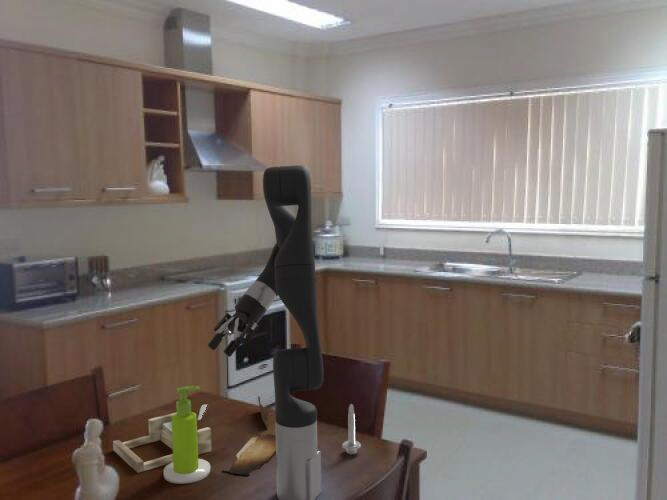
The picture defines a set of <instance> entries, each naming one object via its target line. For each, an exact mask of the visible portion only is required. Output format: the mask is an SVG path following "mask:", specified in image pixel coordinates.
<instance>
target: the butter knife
mask: <svg viewBox="0 0 667 500" xmlns="http://www.w3.org/2000/svg"><path fill="white" fill-rule="evenodd" d="M207 405H208V403H207V404H202V405H201V407H200V409H199V412H198V413H199V414H198V415H197V421H201V420H202V417H203V416H204V414H205V413H206V411H207V410H206V407H207ZM205 410H206V411H205ZM204 412H205V413H204ZM203 413H204V414H203ZM202 415H203V416H202Z"/></svg>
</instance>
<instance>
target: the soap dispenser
mask: <svg viewBox="0 0 667 500" xmlns="http://www.w3.org/2000/svg"><path fill="white" fill-rule="evenodd" d="M200 387H201V386H199V385H198V386H197V385H186V386H181V387H176V393H177V394H179V399H178V400H177V401H176V402H175V404H176V405H175V406H176V412H177V413H176V412H175V413H176V414H174V415H173V416H172V417H171V420H172V444H173V449H172V454H173V468H174V472H176V473H178V474H188V473H192V472H194V471H196V470H197V469H198V467H199V465H198V459H199V455H198V439H197V430H198V420H197V419H198V415H197V413H196V412H193V411H192V402H191V399H188V392H190V391H200V390H201V388H200Z"/></svg>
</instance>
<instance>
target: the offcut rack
mask: <svg viewBox="0 0 667 500" xmlns="http://www.w3.org/2000/svg"><path fill="white" fill-rule="evenodd" d="M176 413H177V411H176V412H173V413H172V412H171V413H169V414H166V415H161V416H156V417H152V418H149V419H147V421H148V422H147V423H148V435H146V436H141V437H137V438H133V439H130V440H127V441H123V442H122V441H121V440H120V439H117V440H113V441H112V447H113V448H112V449H113V452H114V453H116V454H117V455H118V456H119V457H120V458H121V459H122V460H123V461H124V462H125V463H126V464H127V465H128V466H130V467H131V468H132V469H133V470H134V471H135V472H136V473H137V474H140V473H143V472H145V471H149V470H153V469H155V468H158V467H162V466H167V465H168V464H170V463H172V462H173V453H171V454H169V455H165V456H162V457H158V458H154V459H151V460H147V461H144V460H143V459H142V458H141V457H139V456H138V455H137V454H136V453H135V452H134V451H133V450H131V449H133V448H136V447H139V446H143V445H147V444H151V443H154V442H158V441H160V442H161V443H164V444H165V445H166V446H167V447H169V448H170V449H171V450H173V444H172V420H171V417H172V416H173V415H174V414H176ZM197 439H198V456H199V455H202V454H205V453H209V452H212V429H211V428H210V427H203V428H200V429H197Z"/></svg>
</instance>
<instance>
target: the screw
mask: <svg viewBox="0 0 667 500" xmlns="http://www.w3.org/2000/svg"><path fill="white" fill-rule="evenodd" d="M354 409H355V407H354V404H352V403H350V404H349V405H348V415H347V416H348V417H347V418H348V419H347V425H348V426H347V430H348V432H347V434H348V435H347V436H348V437H347V438H348V439H347V440H345V441H344V442H343V443H342V445H341V446H342V448H343V449H345V450H346V451H345V453H347V454H348V455H355V454H357V453H358V449H360V448H361V447H362V444H361V443H360V442H359V441H358V440H356V423H355V422H356V419H355V417H356V416H355V415H356V414H355V410H354Z"/></svg>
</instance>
